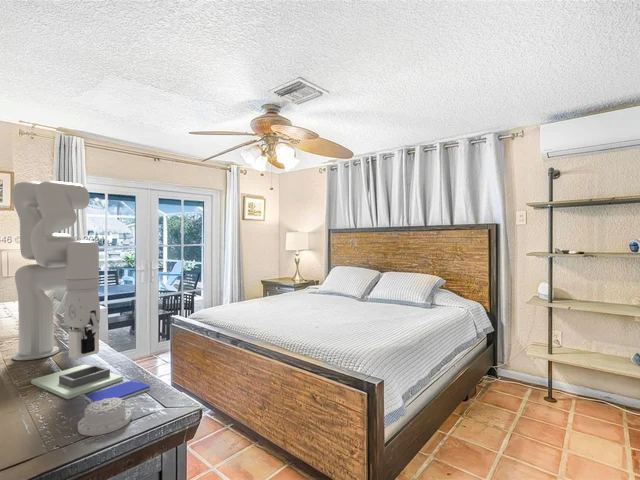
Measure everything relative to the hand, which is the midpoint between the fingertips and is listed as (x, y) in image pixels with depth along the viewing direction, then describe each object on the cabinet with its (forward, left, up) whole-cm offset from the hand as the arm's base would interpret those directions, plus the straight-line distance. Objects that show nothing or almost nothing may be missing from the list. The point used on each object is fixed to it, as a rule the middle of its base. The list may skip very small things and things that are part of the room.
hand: (83, 350), depth 97 cm
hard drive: (+15, +1, -10) cm, 18 cm away
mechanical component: (+27, -9, -10) cm, 30 cm away
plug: (0, 0, -1) cm, 1 cm away
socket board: (-3, 0, -9) cm, 10 cm away
